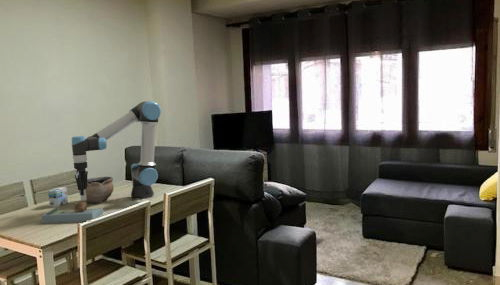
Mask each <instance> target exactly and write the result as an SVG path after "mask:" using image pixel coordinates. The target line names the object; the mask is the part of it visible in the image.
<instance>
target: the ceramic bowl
mask: <svg viewBox="0 0 500 285" xmlns="http://www.w3.org/2000/svg"><path fill="white" fill-rule="evenodd" d="M113 179H114V178H113V177H112V176H100V177H92V178H87V187H86V188H87V189H86V199H87V200H85V202H88V203H93V204H96V203H103V202H104V201H107V200H108V199H109V198H110V197H111V196H112V194H113V192H114V184H113ZM78 192H79V195H80V196H81V194H80V190H78Z"/></svg>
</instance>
